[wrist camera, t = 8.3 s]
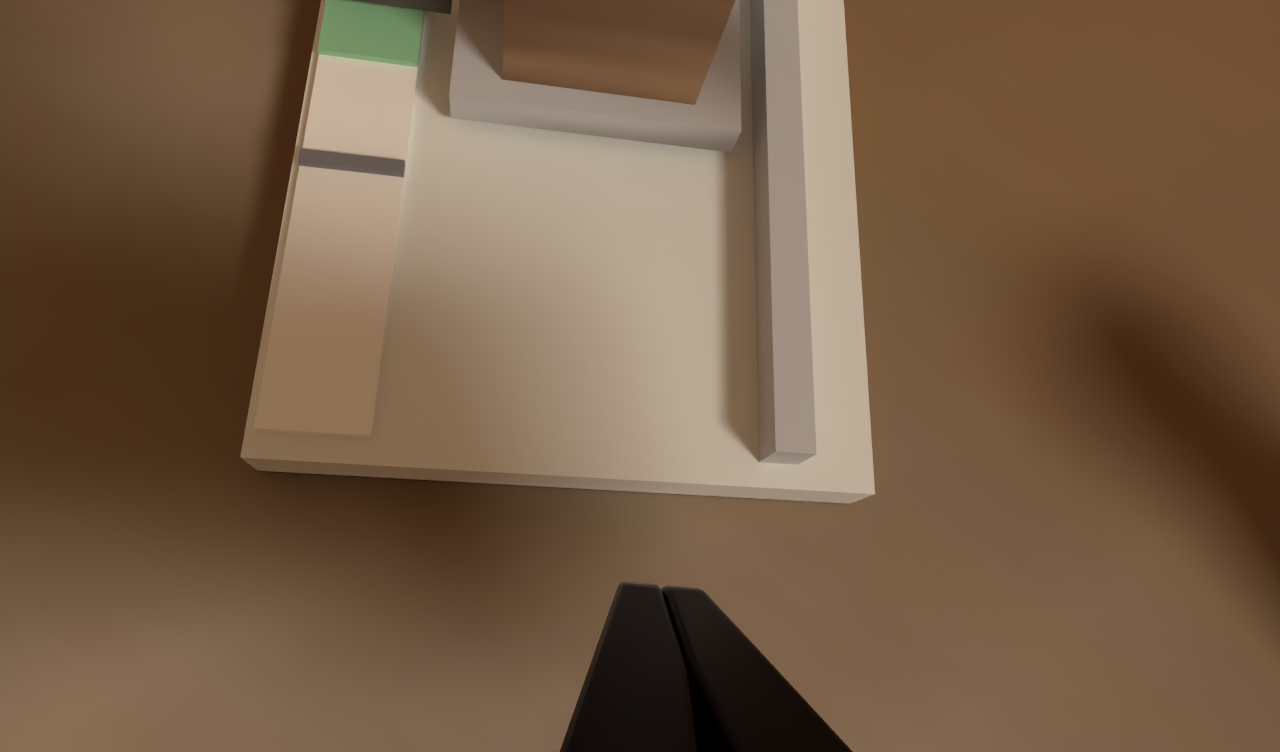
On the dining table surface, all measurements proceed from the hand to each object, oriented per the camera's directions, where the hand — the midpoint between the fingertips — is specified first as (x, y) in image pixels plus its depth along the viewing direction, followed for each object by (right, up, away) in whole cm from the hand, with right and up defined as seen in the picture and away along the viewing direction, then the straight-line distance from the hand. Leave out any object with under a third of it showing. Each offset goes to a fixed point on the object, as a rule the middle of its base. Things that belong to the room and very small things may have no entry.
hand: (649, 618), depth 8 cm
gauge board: (-1, +12, +12) cm, 17 cm away
